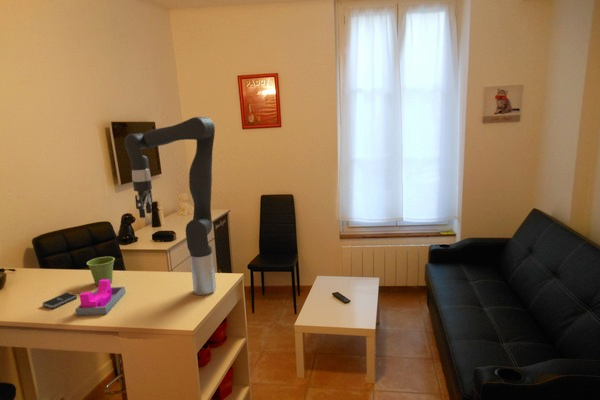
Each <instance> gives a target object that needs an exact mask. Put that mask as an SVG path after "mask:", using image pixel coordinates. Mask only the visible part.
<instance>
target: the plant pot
mask: <svg viewBox="0 0 600 400" xmlns="http://www.w3.org/2000/svg"><path fill="white" fill-rule="evenodd" d="M115 259H116V257H113V256H101V257H96V258H92V259H90V260H88V261H87V262H86V265H87V266H88V268H89V270H90V272H91V275H92V278H93V282H94V284H95V286H96V287H99V281H100V280H102V279H110V284H111V283H112V282H113V273H114V265H115V264H114V263H115Z"/></svg>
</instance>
